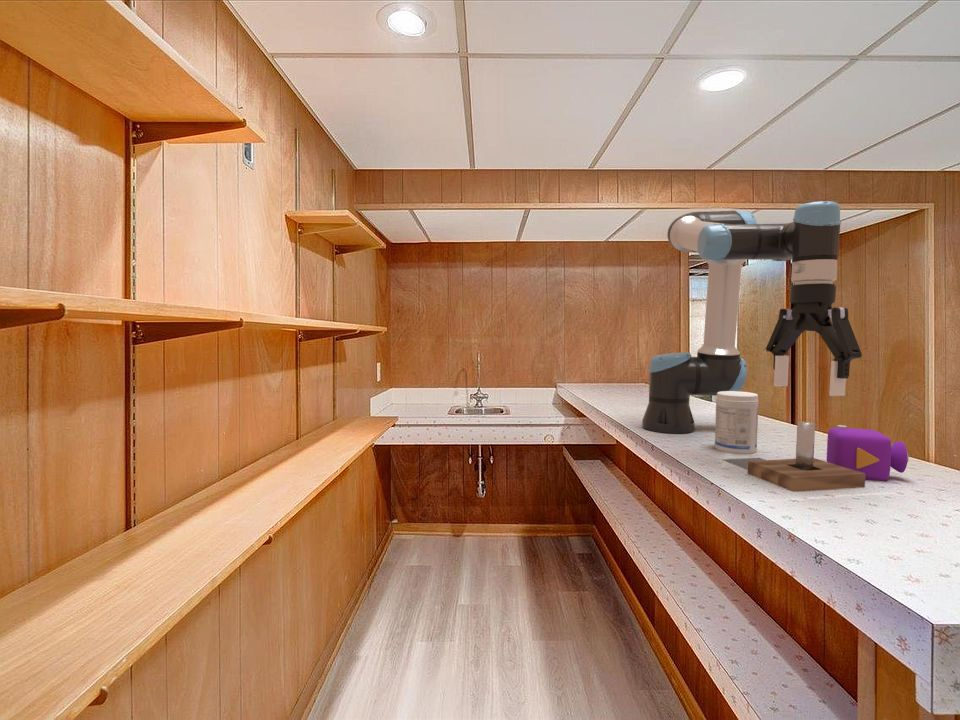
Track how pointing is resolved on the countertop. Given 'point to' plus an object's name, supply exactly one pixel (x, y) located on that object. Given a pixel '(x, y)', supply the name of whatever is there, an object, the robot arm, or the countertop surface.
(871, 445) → the toy camera
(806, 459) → the peg
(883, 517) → the countertop surface
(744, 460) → the mat
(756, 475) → the socket block
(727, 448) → the supplement tub
